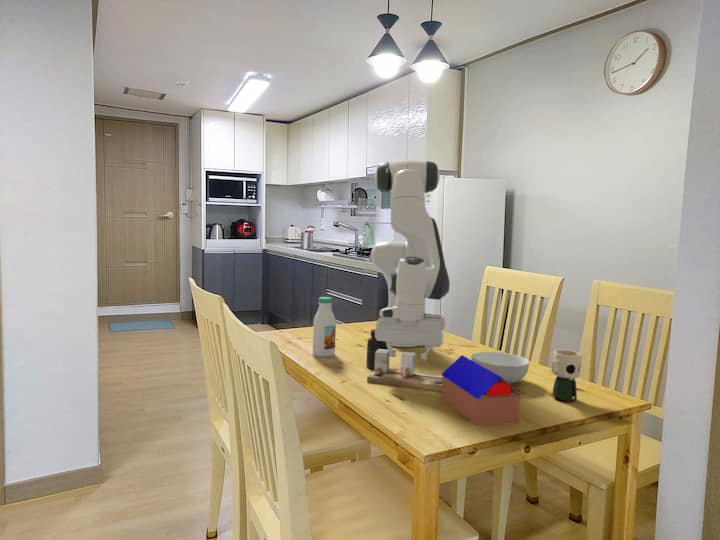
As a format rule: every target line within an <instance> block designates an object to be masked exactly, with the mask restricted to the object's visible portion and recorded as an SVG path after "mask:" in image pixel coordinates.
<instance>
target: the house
mask: <svg viewBox="0 0 720 540" xmlns="http://www.w3.org/2000/svg"><path fill="white" fill-rule="evenodd" d="M440 375H442V391H441V395H440V396H441V399H442V400H444V401H445V402H447V403H448V404H449V405H450V406H451V407H453V408H454V409H455V410H457V411H458V412H459V413H461V415H463V416H464V417H465V418H466V419H468V420H469V421H471V422H472V423H473V424H474V425H476V426H480V425H482V426H483V425H492V424H493V425H494V423H495V424H504V423H503V422H506V423H514V422H513V421H517V422H519V421H520V420H519V416H520V405H521V404H520V403H521V402H520V401H521V393H520V392H518V391H517V390H516V389H515V388H514V387H513V386H512V385H511V384H508V383H507V382H506V381H505V380H504V379H503V378H502V377H500V376H499V375H497V374H495V373H493V372H491V371H490V370H488V369H486V368H484V367H482V366H481V365H479V364H477V363H475V362H473V361H472V360H471V359H469V358H468V357H466V356H464V355H463V354H462V355H460V356H459V357H458V358H457V359H456V360H455V361H454V362H453V363H451V364H450V365H449V366H448V367H447V368H446V369H445V370H444V371H443V372H442V373H440Z"/></svg>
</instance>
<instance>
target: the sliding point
mask: <svg viewBox="0 0 720 540" xmlns="http://www.w3.org/2000/svg"><path fill="white" fill-rule="evenodd" d="M400 370H401V373H400V375H402V377H404V378H407V376H412V375H413V374H414V373H415V372H416V352H413V351H412V352H411V351H403V352H402V353H401V355H400Z"/></svg>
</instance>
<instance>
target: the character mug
mask: <svg viewBox="0 0 720 540" xmlns="http://www.w3.org/2000/svg"><path fill="white" fill-rule="evenodd" d="M552 356H553V359H552V361H551V369H550V371H551V372H552V374H553V375H554V376H556V377H555V380H554V384H553V388H552V392H551V393H552V394H551V395H552V396H553V397H555V398H557V399H558V400H560V401H565V402H568V401H569V402H572V401H573V398H574V401H576V400H577V399H578V396H577V395H578V394H577V381H576V379H578V378H579V377H580V376H581V372H582V371H581V368H582V353H580V352H578V351H574V350H570V349H568V350H567V349H555V350H553V355H552Z"/></svg>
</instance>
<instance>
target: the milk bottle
mask: <svg viewBox="0 0 720 540" xmlns="http://www.w3.org/2000/svg"><path fill="white" fill-rule="evenodd" d="M332 305H333V298H332V297H330V296H320V297H318V309H317V311H316V314H315V315H314V319H313V328H312V329H313V330H312V354H313V355H314V356H315V357H318V358H320V357H321V358H330V357H333V356H335V354H336V335H337V334H336V329H337V328H336V327H337V324H336V323H337V322H336V317H335V314H334V312H333V310H332V309H333V308H332Z"/></svg>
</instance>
